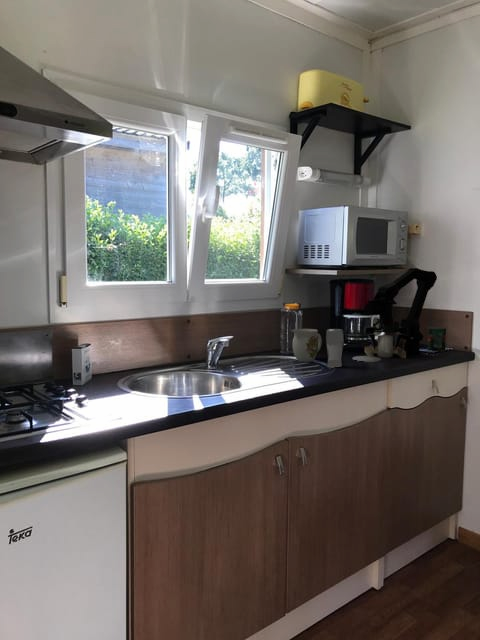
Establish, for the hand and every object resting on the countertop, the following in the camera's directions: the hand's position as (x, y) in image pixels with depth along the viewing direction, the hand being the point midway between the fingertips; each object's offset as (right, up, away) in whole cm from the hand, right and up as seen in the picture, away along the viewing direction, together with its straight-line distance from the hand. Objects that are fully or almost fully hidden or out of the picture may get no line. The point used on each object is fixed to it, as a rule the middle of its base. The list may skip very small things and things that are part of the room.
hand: (385, 349), depth 247 cm
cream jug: (0, -3, -1) cm, 3 cm away
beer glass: (-27, -6, -25) cm, 37 cm away
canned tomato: (+29, -2, +15) cm, 32 cm away
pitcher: (-36, -4, -10) cm, 38 cm away
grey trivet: (-10, -4, -9) cm, 14 cm away
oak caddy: (0, -3, 0) cm, 3 cm away
